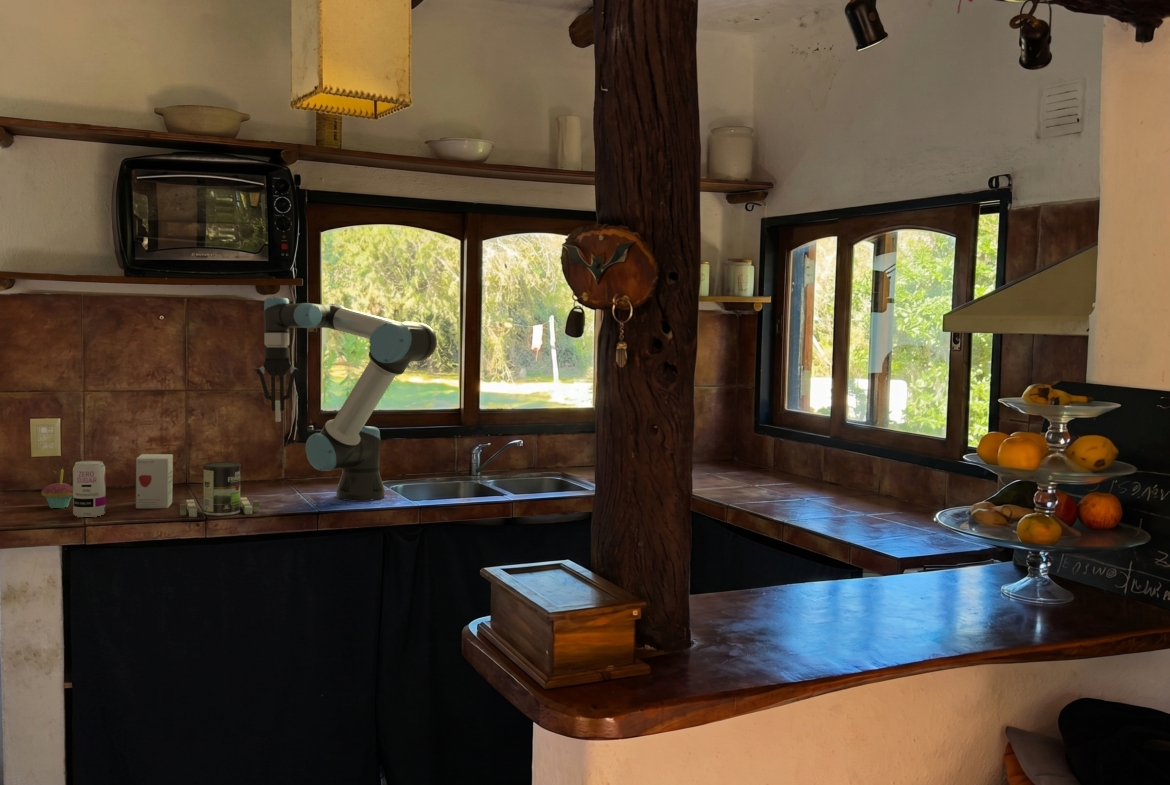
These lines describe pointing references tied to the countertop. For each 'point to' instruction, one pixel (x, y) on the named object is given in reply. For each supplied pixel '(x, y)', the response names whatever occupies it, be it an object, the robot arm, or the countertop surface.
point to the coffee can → (221, 488)
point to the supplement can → (89, 489)
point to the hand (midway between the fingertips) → (278, 421)
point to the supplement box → (154, 480)
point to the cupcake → (58, 493)
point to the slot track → (243, 502)
